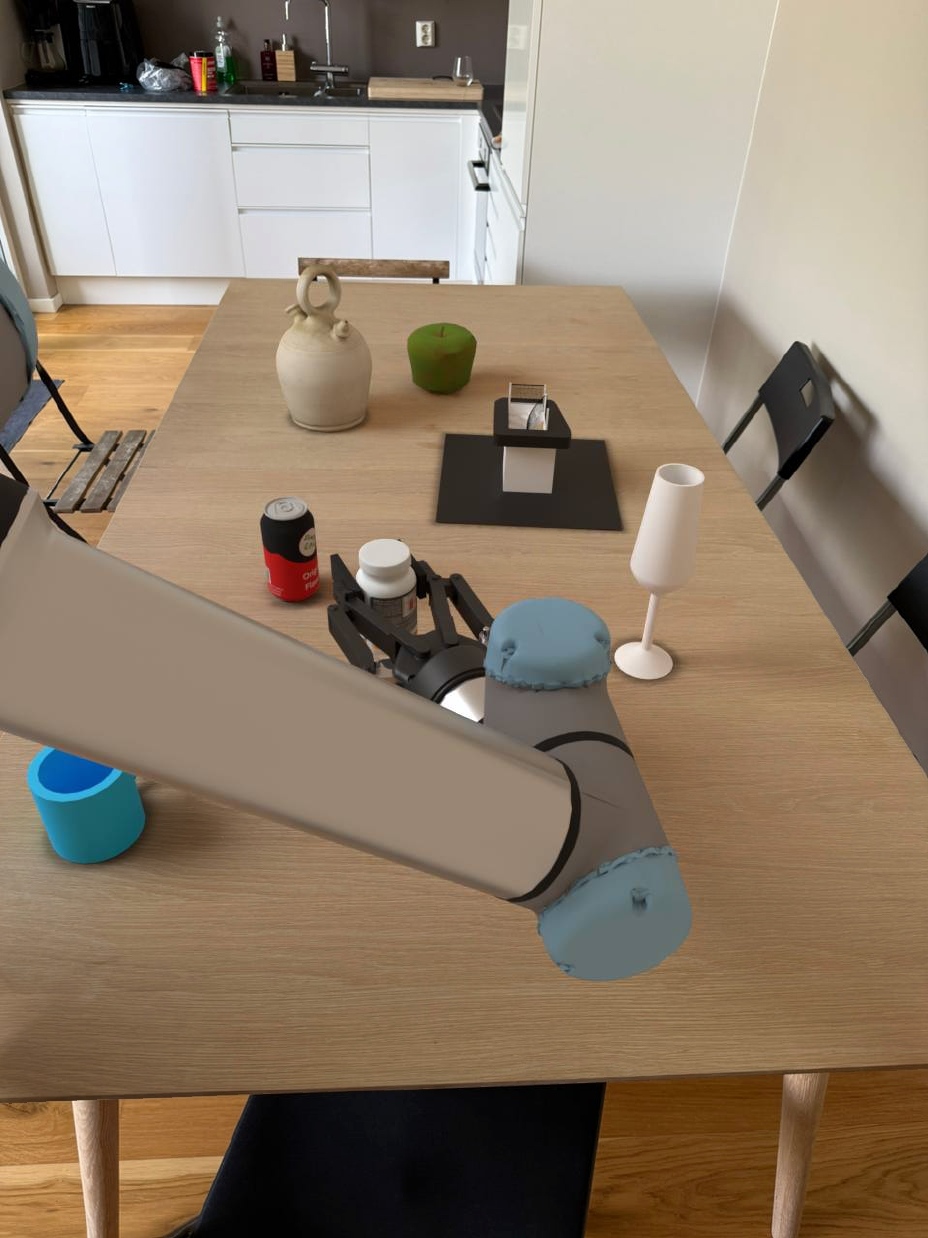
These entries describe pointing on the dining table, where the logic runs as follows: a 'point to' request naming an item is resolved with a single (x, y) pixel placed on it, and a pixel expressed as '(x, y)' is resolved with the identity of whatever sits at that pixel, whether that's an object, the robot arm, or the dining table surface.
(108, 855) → the mug
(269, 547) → the beverage can
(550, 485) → the black-topped pedestal
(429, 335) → the apple
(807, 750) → the dining table surface
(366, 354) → the jug
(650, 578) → the champagne flute
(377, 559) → the pill bottle
